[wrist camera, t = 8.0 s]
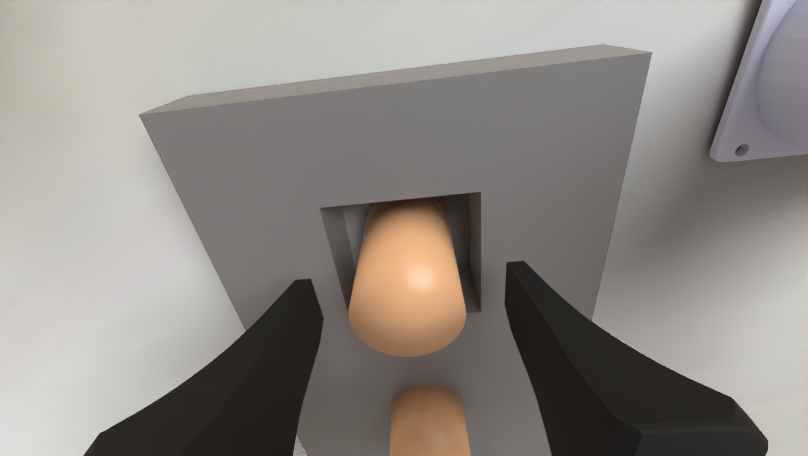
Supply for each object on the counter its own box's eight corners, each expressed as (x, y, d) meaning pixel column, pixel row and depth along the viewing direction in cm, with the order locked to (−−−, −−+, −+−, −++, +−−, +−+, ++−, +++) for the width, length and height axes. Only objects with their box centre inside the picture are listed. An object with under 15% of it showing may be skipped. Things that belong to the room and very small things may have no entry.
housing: (603, 44, 13) (732, 65, 8) (543, 417, 25) (578, 519, 20) (187, 96, 14) (61, 144, 9) (325, 429, 26) (306, 530, 21)
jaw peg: (446, 184, 16) (464, 266, 11) (450, 256, 18) (467, 352, 13) (358, 193, 16) (336, 277, 11) (372, 262, 18) (359, 360, 13)
